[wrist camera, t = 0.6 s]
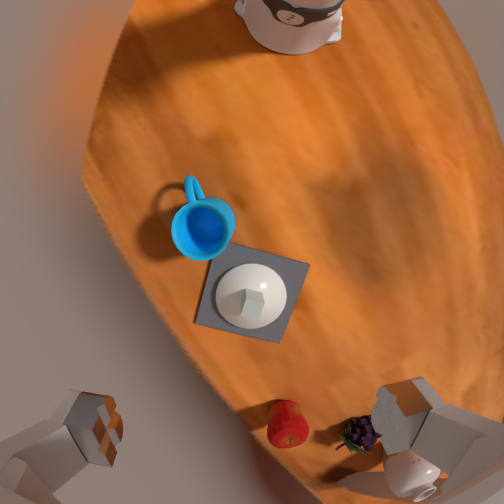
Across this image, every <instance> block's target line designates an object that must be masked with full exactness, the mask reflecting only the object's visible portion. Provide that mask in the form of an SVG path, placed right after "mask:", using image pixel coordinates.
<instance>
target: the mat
mask: <svg viewBox="0 0 504 504" xmlns="http://www.w3.org/2000/svg"><path fill="white" fill-rule="evenodd" d="M243 263H260V264H263V265H266V266H268V267H270V268H272V269H273V270H274V271H276V272H277V273H278V275H279V276H280V277H281V279H282V280H283V283H284V285H285V288H286V294H287V298H286V304H285V307H284V309H283V311H282V312H281V314H280V315H279V316H278V317H277V318H276V319H275V320H274V321H273V322H271V323H270V324H268V325H266V326H263V327H260V328H255V329H246V328H240V327H237V326H235V325H233V324H231V323H229V322H228V321H227V320H226V319H225V318H224V317H223V316H222V315H221V314H220V312H219V310H218V307H217V304H216V290H217V286H218V283H219V281H220V279H221V278H222V276H223V275H224V274H225V273H226V272H227V271H229V270H230V269H231V268H233V267H235V266H237V265H240V264H243ZM309 266H310V265H309V264H307V263H304V262H300V261H296V260H293V259H289V258H286V257H282V256H279V255H275V254H271V253H268V252H264V251H261V250H257V249H253V248H250V247H246V246H243V245H239V244H235V243H232V242H228V244H227V246H226V248H225V249H224V250H223V251H222V252H221V253H220V254H219V255H218V256H216V257H214V258H212V262H211V266H210V269H209V273H208V277H207V281H206V284H205V288H204V292H203V296H202V300H201V303H200V307H199V311H198V315H197V319H196V323H195V324H199V325H203V326H207V327H211V328H215V329H219V330H223V331H227V332H231V333H235V334H240V335H244V336H249V337H253V338H258V339H262V340H267V341H272V342H277V343H280V341H281V339H282V336H283V334H284V331H285V329H286V326H287V324H288V321H289V319H290V316H291V314H292V311H293V308H294V306H295V303H296V301H297V298H298V295H299V293H300V290H301V288H302V285H303V282H304V280H305V277H306V274H307V272H308V269H309Z"/></svg>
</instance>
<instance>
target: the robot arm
mask: <svg viewBox="0 0 504 504" xmlns="http://www.w3.org/2000/svg"><path fill="white" fill-rule="evenodd" d="M243 2H244V3H243ZM344 2H345V0H238V1H237V2H236V4H235V6H234V10H235V12H236V13H237V14H238V15H239V16H240V17H242V18H243V19H244V21H245V23H246V26H247V28H248V31H249V32H250V34H251V35H252V36H253V38H254V39H255V40H256V41H257V42H259V43H260V44H261V45H263V46H264V47H266V48H268V49H270V50H273V51H276V52H279V53H283V54H304V53H308V52H311V51H313V50H315V49H317V48H318V47H320V46H322V45H324V44H332V43H337V42H338V41H339V40H340V38H341V22H342V20H343V17H342V16H341V14H342V9H341V7H342V5H343V4H344ZM376 396H377V397H378V399H379V400H378V401H377V402H376V403H375V404H374V405H373V408H372V412H371V421H372V425H373V428H374V430H375V432H377V433H379V434H381V435H382V437H381V440H380V442H381V443H382V445H383V447H384V449H385V451H386V453H387V455H390V454H394V453H397V452H401V451H404V450H408V449H410V450H411V451H413V452H414V453H416V454H417V455H419V456H420V457H422V458H423V459H425V460H426V461H428V462H429V463H431V464H433V465H434V466H436V467H437V468H439V469H441V470H442V471H444V472H445V473H447V474H449V476H448V478H447V479H446V480H445V482H444V483H443V484H442V486H441V490H442V492H443V494H442V495H440V496H437V497H436V498H433V499H431V500H429V501H426V502H424V503H422V504H504V424H502V423H499V422H497V421H494V420H491V419H488V418H486V417H483V416H480V415H478V414H475V413H472V412H470V411H467V410H464V409H462V408H459V407H457V406H454V405H452V404H447V405H446V404H445V403H444V402H443V400H442V399H441V398H440V397H439V396H438V394H437V393H436V392H435V391H434V390H433V388H432V387H431V386H430V385H429V384H428V382H427V381H426V380H425V379H424V378H423V377H416V378H413V379H409V380H405V381H401V382H397V383H392V384H388V385H383V386H381V387H380V388H379V389H378V392H377V395H376ZM115 407H116V403H115V401H114V398H113V397H111V396H107V395H101V394H95V393H89V392H84V391H83V392H82V391H78V390H73V389H70V390H67V391H66V393H65V394H64V396H63V397H62V399H61V401H60V402H59V404H58V406H57V407H56V409H55V410H54V412H53V413H52V415H51V417H50V418H49V420H48V421H47V420H43V421H41V422H39V423H37V424H35V425H33V426H31V427H29V428H27V429H25V430H24V431H21V432H19V433H17V434H15V435H14V436H12V437H9V438H7V439H5V440H3V441H1V442H0V504H62V503H61V502H60V501H59V500H58V499H57V498H56V497H55V496H54V495H53V493H54V492H55V491H56V490H58V489H59V488H60V487H61V486H62V485H64V484H65V483H66V482H67V481H69V480H70V479H71V478H72V477H74V476H75V475H76V474H77V473H78V472H80V470H82V469H83V468H84V467H86V466H87V465H88V463H91V464H96V465H101V466H106V467H112V466H113V463H114V460H115V457H116V454H117V451H116V449H115V447H114V446H116V445H117V444H118V443H120V442H121V439H122V436H123V423H122V419H121V416H120V415H119V414H118V413H117V412H116V411H115Z"/></svg>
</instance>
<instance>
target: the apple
mask: <svg viewBox="0 0 504 504" xmlns="http://www.w3.org/2000/svg"><path fill="white" fill-rule="evenodd" d="M268 421H269V422H268V429H267V437H268V440H269V442H270V443H271V444H272V445H273V446H275V447H277V448H291V447H295V446H298V445H300V444H302V443H303V442H305V441H306V439H307V437H308V434H309V426H308V423H307V421H306V419H305V418H304V416H303V415H302V412H301V410H300V407H299V406H298V404H297V403H294V402H291V401H289V400H281V401H278V402H276V403H275V404H273V405H272V406H271V407H270V408H269V410H268Z"/></svg>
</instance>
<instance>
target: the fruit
mask: <svg viewBox="0 0 504 504" xmlns="http://www.w3.org/2000/svg"><path fill="white" fill-rule="evenodd" d="M351 426H352V427H351ZM351 426H350V423H349V426H348V427H347V430H346V427H345V431H344V433H345V435H344V436H343V434H342V433H341V436H340V435H339V434H338V436H339V437H340V438H341V439H342V440H343V442H344V443H343V444H341V445H339V446H338V447H337V448H336V449H335V450H336V451H337V450H338V449H339V448H340V447H342V446H344V445H346V447H347V448H348V449H349V448H350V449H351V450H350V449H349V451H350V452H351V451H352V450H353V451H355V452H358V453H360V454H363V455H365V456H367V455H366V454H365V453H364V452H363V451H364V450H367V451H370V450H372V448H373V446H374V443H376V441H377V438H380V437H381V436H382V435H381V434H379V433H377V432H375V430H374V428H373V425H372V421H371V416H368V417H367V420H366V419H365V418H362V419H360V420H359V419H357V418H356V419H353V420H351ZM359 426H360V427H359ZM376 437H377V438H376ZM360 446H363V448H365V449H364V450H363V451H362V449H363V448H362V449H360V448H361V447H360ZM359 447H360V448H359ZM353 451H352V452H353ZM352 452H351V453H352ZM367 457H368V456H367Z"/></svg>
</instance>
